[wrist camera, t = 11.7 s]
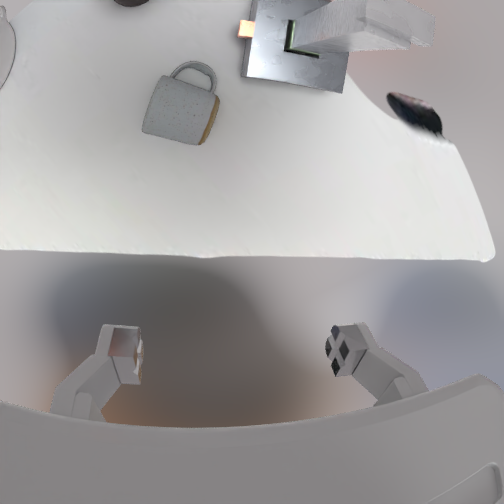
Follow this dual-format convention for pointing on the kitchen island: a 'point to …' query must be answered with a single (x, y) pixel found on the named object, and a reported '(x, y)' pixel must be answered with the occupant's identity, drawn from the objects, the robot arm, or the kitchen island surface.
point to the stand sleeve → (272, 48)
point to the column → (360, 27)
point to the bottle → (130, 2)
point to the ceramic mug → (182, 108)
